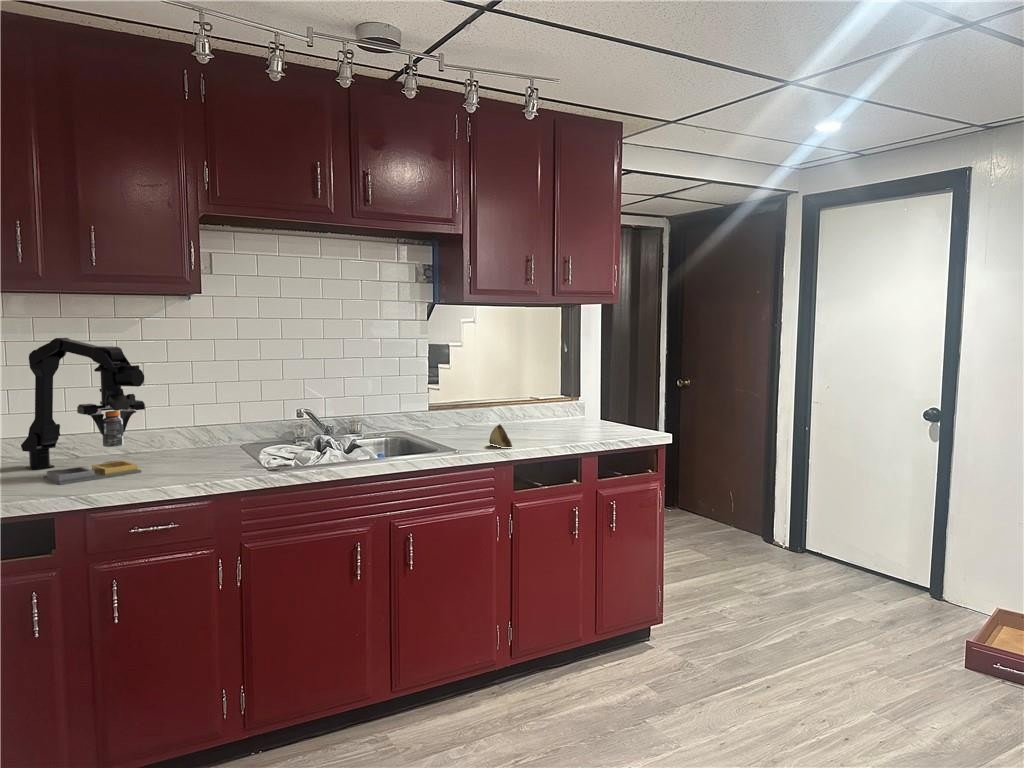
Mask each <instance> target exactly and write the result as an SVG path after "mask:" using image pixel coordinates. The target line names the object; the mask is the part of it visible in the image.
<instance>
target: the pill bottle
mask: <svg viewBox="0 0 1024 768" xmlns="http://www.w3.org/2000/svg"><path fill="white" fill-rule="evenodd" d="M103 425H104V435H102V446H103V447H106V448H116V447H122V446H124V445H125V441H124V433H123V419H122V418H120V410H119V411H115V410H107V411H105V412H104V417H103Z"/></svg>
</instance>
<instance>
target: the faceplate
mask: <svg viewBox="0 0 1024 768" xmlns="http://www.w3.org/2000/svg"><path fill="white" fill-rule="evenodd" d="M116 461H117V462H110V461H109V462H110V463H105V462H102V463H103V464H102V463H96V464H91V468H88V467H85V466H76V467H69V468H68V467H67V468H62V469H54V470H48V471H46V475H44V476H43V478H42V479H43V480H46V481H48V482H51V483H53V484H56V485H59V486H63V485H68V484H69V485H71V484H74V483H75V484H76V483H82V482H88V481H94V480H95V481H96V480H101V479H107V478H108V479H109V478H114V476H115V477H121V476H126V475H133V474H140V473H142V469H139V468H138V464H137V463H134V462H130V461H127V460H116Z"/></svg>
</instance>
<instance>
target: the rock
mask: <svg viewBox="0 0 1024 768" xmlns="http://www.w3.org/2000/svg"><path fill="white" fill-rule="evenodd" d="M488 443H490V444H494V445H498V446H501V447H513V444H512V442H511V440H510V438H509V436H508V434H507V432H506V431H505V429H504V427H503V426H502V424H501V423H498V424H497V425H496V426H495V427H494V428H493V430H491V433H490V436H489V441H488ZM490 444H489V445H490Z"/></svg>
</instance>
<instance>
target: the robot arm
mask: <svg viewBox="0 0 1024 768" xmlns="http://www.w3.org/2000/svg"><path fill="white" fill-rule="evenodd" d="M67 353H69V354H75V355H78V356H81V357H85V358H89V359H91V360H92V361H93V362H95V363H96V364H98V366H97V367H95V368H94V372H100V388H99V392H100V393H101V394H100V395H101V398H100V399H101V400H100V401H99V404H96V403H95V404H94V403H82V404H81V403H79V404H78V406H77V407H76V408H77V409H76V410H77V414H80V415H87V416H90V417H91V418H92V420H93V421H94V422H95V423H94V424H95V425H96V426H97V430H98V431H99V432H100V434H101V435H102V436H103V435H104V425H103V419H104V417H105V413H102V412H104V411H105V412H106V411H119V417H120V418H122V419H123V434H124V433H125V431H126V428H127V427H128V423H129V420H130V418H131V417H132V415H134V414H135V413H137V411H141V410H142V411H143V410H145V409H146V404H145V402H144V401H143V400H139V399H136V394H134V393H127V394H125V393H124V389H123V388H122V387H136V388H137V387H141V386H142V385H143V384H144V382H145V375H144V372H143V371H142V370H141V369H140V365H137V364H136V365H131V362H129V360H128V359H127V357H126V355H125V354H124V352H123V349H122V348H121V347H119V346H113V345H111V346H110V345H109V346H107V345H106V346H104V345H94V344H91V343H86V342H82V341H78V340H74V339H70V338H68V337H56V338H53V339H52V340H50V341H49V342H48V343H46V344H44V345H42V346H39V347H38V348H36V349H34V350H32V351H31V352H29V354H28V364H29V368H30V370H31V372H32V374H33V375H34V378H35V379H34V380H35V382H34V384H35V386H34V419H33V422H31V425H30V426H29V427H28V428H29V429H28V433H27V434H28V436H27V437H26V438H25V439H24V441H23V442H22V443H21V444H20V446H21V447H20V448H21V449H22V452H28V455H29V456H28V459H29V465H26V466H25V468H27V469H29V470H32V471H35V470H43V469H49V468H55V465H53V464H51V457H50V449H53V448H56V445H57V441H58V440H59V437H60V436H61V433H60V429H61V424H60V423H56V422H55V420H54V418H53V417H54V415H53V412H54V411H53V408H54V407H53V406H54V404H53V403H54V375H55V374H56V372H57V371H58V369H59V367H60V361H61V359H63V358H64V357H65V356H66V355H67Z"/></svg>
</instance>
